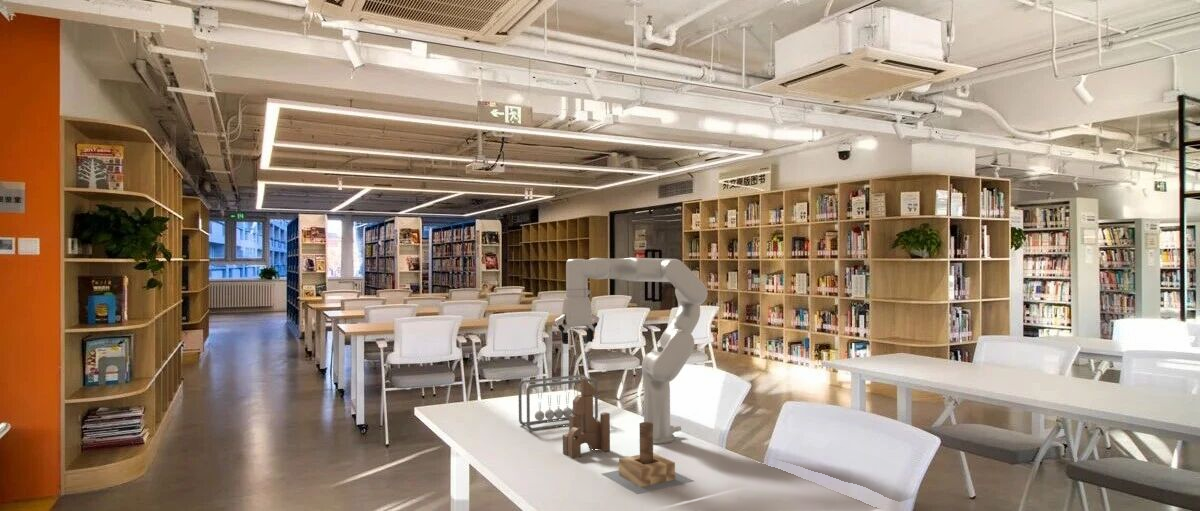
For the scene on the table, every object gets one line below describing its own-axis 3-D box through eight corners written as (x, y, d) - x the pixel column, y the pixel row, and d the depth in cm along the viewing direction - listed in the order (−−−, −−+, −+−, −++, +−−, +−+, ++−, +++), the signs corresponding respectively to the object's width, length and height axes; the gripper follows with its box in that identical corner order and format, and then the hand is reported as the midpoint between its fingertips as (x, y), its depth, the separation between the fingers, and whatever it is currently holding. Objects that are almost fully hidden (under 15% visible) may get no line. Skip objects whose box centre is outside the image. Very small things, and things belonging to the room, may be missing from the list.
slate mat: (655, 464, 212) (655, 462, 212) (694, 482, 195) (694, 480, 195) (601, 475, 202) (601, 473, 202) (637, 495, 185) (637, 493, 185)
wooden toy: (571, 458, 220) (570, 382, 219) (562, 453, 225) (561, 379, 225) (611, 451, 227) (611, 378, 227) (601, 446, 233) (601, 375, 233)
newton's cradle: (527, 431, 253) (527, 385, 253) (518, 425, 263) (518, 380, 263) (598, 422, 267) (597, 378, 266) (587, 416, 276) (586, 373, 276)
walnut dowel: (648, 474, 201) (648, 421, 201) (656, 478, 198) (655, 424, 198) (637, 476, 199) (636, 423, 199) (644, 480, 196) (644, 426, 196)
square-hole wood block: (651, 468, 207) (651, 452, 207) (675, 479, 197) (674, 462, 197) (619, 475, 201) (618, 458, 201) (641, 487, 191) (641, 469, 191)
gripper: (593, 292, 241) (593, 339, 241) (550, 294, 232) (550, 343, 233) (603, 293, 235) (604, 342, 235) (559, 295, 226) (560, 345, 226)
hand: (577, 342), depth 234 cm, fingers open, 9 cm apart
